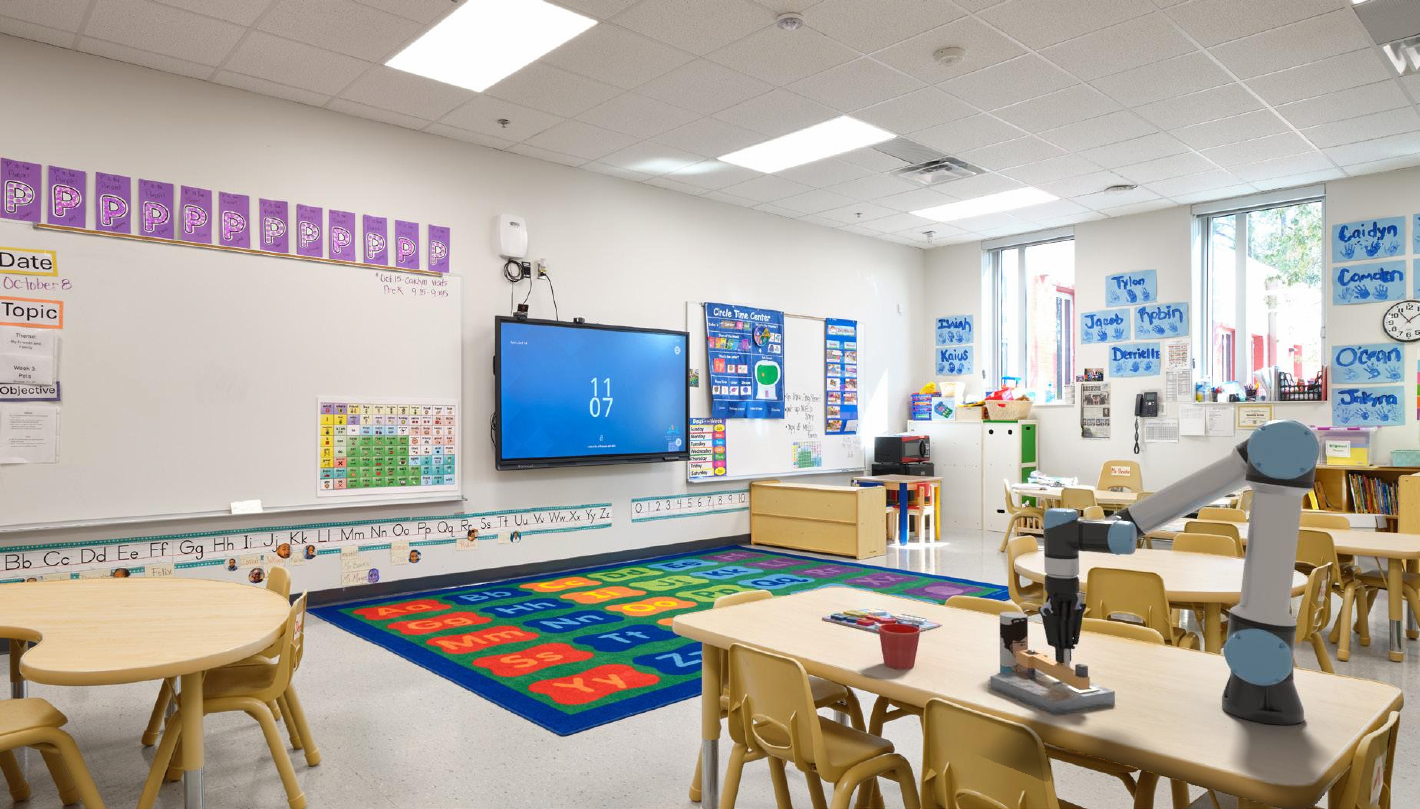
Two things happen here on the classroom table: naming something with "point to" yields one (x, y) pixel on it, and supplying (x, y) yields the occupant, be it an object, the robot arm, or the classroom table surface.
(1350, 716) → the classroom table surface
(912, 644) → the flower pot
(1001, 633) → the printed cylinder
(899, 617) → the puzzle board
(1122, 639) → the classroom table surface
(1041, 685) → the board
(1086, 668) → the bar
